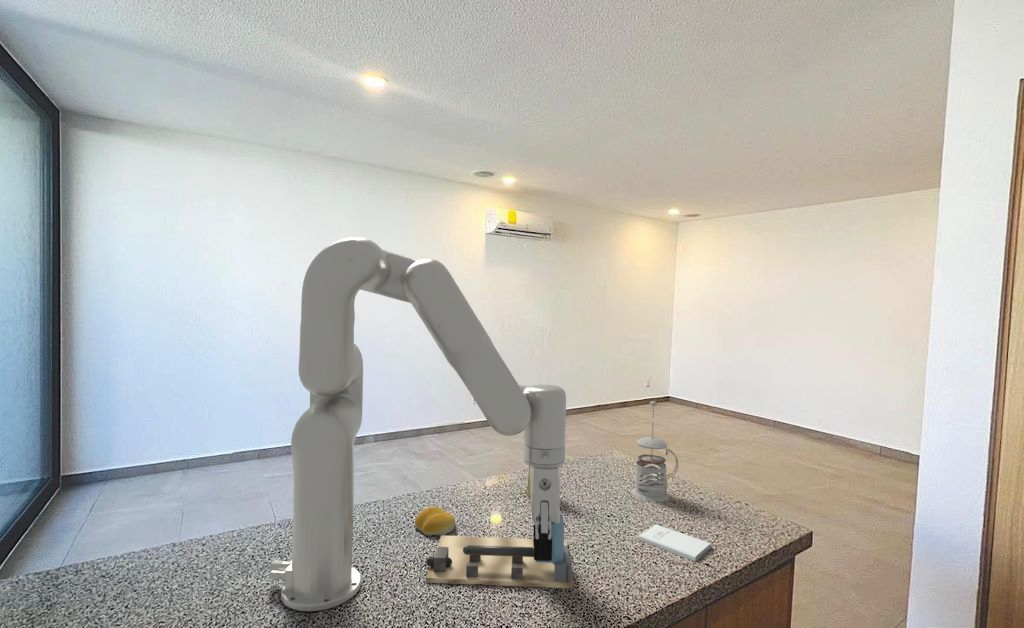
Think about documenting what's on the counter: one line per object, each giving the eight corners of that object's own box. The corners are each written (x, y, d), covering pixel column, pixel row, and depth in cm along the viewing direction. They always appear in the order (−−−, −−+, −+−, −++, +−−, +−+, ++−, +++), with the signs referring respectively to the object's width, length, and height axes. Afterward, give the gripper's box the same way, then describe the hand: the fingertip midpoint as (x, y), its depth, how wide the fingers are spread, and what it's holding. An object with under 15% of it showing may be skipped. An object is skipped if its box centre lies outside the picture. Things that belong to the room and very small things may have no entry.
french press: (629, 486, 135) (632, 396, 135) (672, 489, 134) (675, 399, 133) (633, 500, 126) (636, 403, 125) (680, 503, 124) (683, 406, 124)
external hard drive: (695, 564, 95) (637, 542, 104) (711, 550, 101) (655, 530, 110) (695, 556, 95) (638, 534, 104) (711, 542, 101) (656, 522, 110)
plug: (461, 559, 87) (462, 521, 87) (464, 548, 91) (464, 511, 91) (563, 563, 87) (564, 524, 87) (561, 551, 91) (562, 514, 91)
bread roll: (430, 541, 101) (431, 522, 101) (409, 526, 108) (409, 508, 108) (463, 530, 106) (464, 512, 106) (441, 516, 113) (441, 499, 113)
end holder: (554, 581, 85) (554, 564, 85) (552, 560, 92) (552, 545, 92) (570, 582, 85) (570, 565, 85) (566, 561, 92) (567, 545, 92)
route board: (421, 582, 85) (421, 563, 85) (437, 539, 101) (437, 522, 101) (573, 588, 85) (574, 569, 85) (565, 544, 101) (566, 527, 101)
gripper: (569, 469, 80) (566, 579, 81) (561, 441, 97) (559, 532, 97) (523, 468, 80) (521, 578, 81) (523, 440, 97) (521, 531, 97)
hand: (542, 552), depth 89 cm, fingers closed on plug, 4 cm apart
